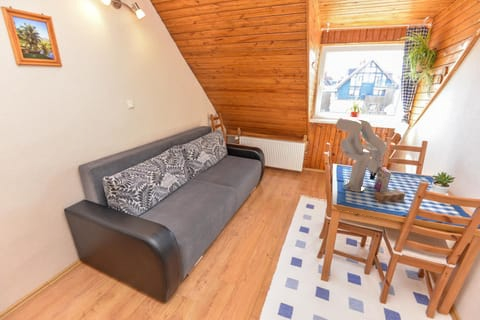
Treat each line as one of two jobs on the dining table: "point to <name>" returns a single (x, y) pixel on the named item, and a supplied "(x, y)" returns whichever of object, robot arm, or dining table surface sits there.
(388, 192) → the brown lumpy bar
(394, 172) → the dining table surface
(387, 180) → the candy bar box
